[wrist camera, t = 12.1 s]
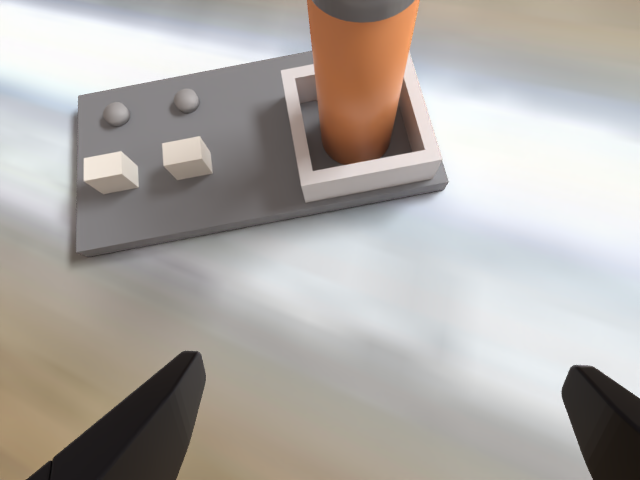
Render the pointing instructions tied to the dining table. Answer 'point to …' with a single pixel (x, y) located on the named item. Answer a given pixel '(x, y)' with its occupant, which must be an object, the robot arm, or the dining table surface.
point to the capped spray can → (359, 72)
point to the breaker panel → (231, 155)
